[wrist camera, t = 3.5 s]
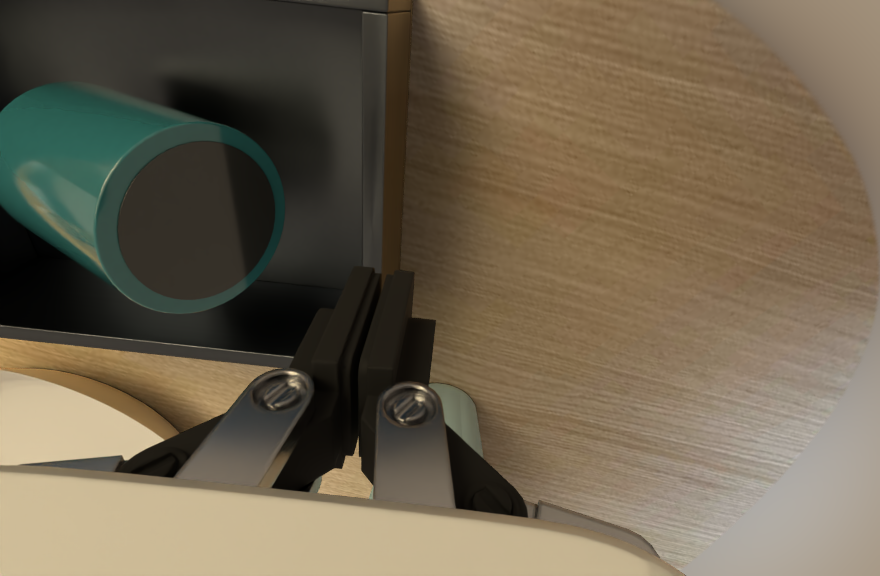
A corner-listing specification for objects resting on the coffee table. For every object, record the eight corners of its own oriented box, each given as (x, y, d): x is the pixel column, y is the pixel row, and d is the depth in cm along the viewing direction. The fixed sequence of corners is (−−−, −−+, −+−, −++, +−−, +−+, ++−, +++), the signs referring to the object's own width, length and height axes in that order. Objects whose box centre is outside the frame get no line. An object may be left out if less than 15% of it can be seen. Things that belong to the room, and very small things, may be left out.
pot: (28, 268, 19) (133, 349, 15) (-57, 88, 15) (57, 141, 11) (188, 219, 24) (293, 271, 20) (155, 75, 20) (278, 110, 17)
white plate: (285, 424, 34) (267, 466, 30) (198, 560, 46) (178, 600, 42) (-92, 265, 28) (-162, 297, 24) (-78, 470, 40) (-124, 509, 36)
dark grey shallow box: (-106, -69, 18) (-367, -102, 13) (414, -12, 18) (388, -20, 13) (41, 260, 27) (-75, 330, 21) (398, 299, 27) (379, 378, 21)
